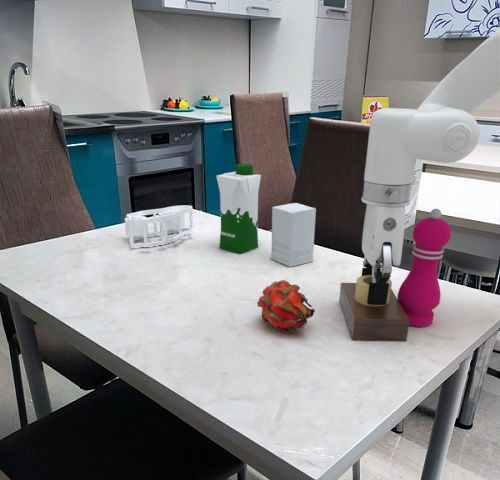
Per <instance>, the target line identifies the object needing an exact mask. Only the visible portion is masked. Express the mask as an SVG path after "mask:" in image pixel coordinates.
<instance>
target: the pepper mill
mask: <svg viewBox="0 0 500 480" xmlns="http://www.w3.org/2000/svg"><path fill="white" fill-rule="evenodd" d="M441 217H442V211H441V209H439V208H433V209H432V210H431V211H430V212H429V217H426V218H423V219H420V220H419V221H418V222H417V223H416V224H415V226H414V227H413V230H412V240H413V241H414V242H415V244H414V245H413V247H412V248H413V250H412V252H411V253H412V255H413V262H412V266H411V268H410V271H409V272H408V274H407V276H406V278H405V279H404V280H403V281H402V283H401V285H400V287H399V289H398V292H397V295H396V297H397V299H398V301H399V302H400V304H401V306H402V307H403V309H404V311H405V312H406V314H407V316H408V317H409V319H410V322H409V327H410V326H411V327H417V328H422V327H428V326H431V324H433V320H434V315H435V313H434V311H433V310H435V309H436V308H438V307H439V305H440V303H441V295H442V294H441V287H440V283H439V278H438V267H439V262H440V260H441V259H442V258H443V257H444V255H443V254H444V253H445V248H444V247H445V246H446V245H447V244H448V243H449V242H450V240H451V237H452V236H451V235H452V229H451V226H450V224H449V223H448V222H447V221H445V220H444V219H443V218H441Z"/></svg>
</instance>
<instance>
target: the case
mask: <svg viewBox="0 0 500 480" xmlns="http://www.w3.org/2000/svg"><path fill="white" fill-rule="evenodd" d="M339 289H340V291H339V299H338V301H339V305H340V308H341V311H342V314H343V317H344V320H345V323H346V326H347V330H348V332H349V335H350V338H351V341H381V342H382V341H383V342H385V341H386V342H407V340H408V338H407V337H408V334H409V333H408V332H409V328H410V325H409V322H410V319H409V317H408V316H407V314H406V312H405V311H404V309H403V307H402V306H401V304H400V302H399V301H398V298H397V295H396V294H395V292H394V290H393V289H392V288H391V293H390V300H389V303H388V304H386V305H384V306H367V305H363V304H360V303H358V302H357V301H356V300H355V291H356V282H340V287H339Z"/></svg>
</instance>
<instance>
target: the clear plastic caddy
mask: <svg viewBox="0 0 500 480" xmlns="http://www.w3.org/2000/svg"><path fill="white" fill-rule="evenodd" d="M186 213H188V214H189V227H186V223H185V222H186V221H185V214H186ZM148 215H149V216H150V215H152V217H147V216H148ZM157 215H158V216H157ZM158 223H159V231H158ZM124 224H125V225H124V226H125V235H126V236H128V237H129V238H128V242H129V243H128V244H130V249H134V248H137V249H139V248H138V247H150V248H154V247H153V246H156V247H160V246H159V245H162V246H165V245H164V244H166V245H169V244H172V243H171V242H174V243H176V242H177V241H179V240H181V239H183V237H185V236H184V235H186V236H189V235H188V234H191V233H193V234H194V220H193V205H185V204H183V205H172V206H167V207H161V208H154V209H153V208H152V209H146V210H139V211H136V212H131V213H127V214H126V217H125V218H124ZM148 224H153V232H150V233H149V228H148V226H149V225H148ZM175 232H179V233H175ZM170 233H173V234H170ZM168 234H169V235H168ZM163 235H164V236H163ZM191 235H192V234H191ZM153 236H159V240H157V241H151V242H148V238H147V237H152V238H154V237H153ZM182 236H183V237H182ZM142 238H144V239H142ZM180 238H181V239H180ZM138 239H141V240H143V242H138V243H135V242H136V241H135V240H138ZM178 239H179V240H178ZM176 240H177V241H176ZM133 241H134V242H133ZM138 241H139V240H138ZM175 241H176V242H175ZM168 243H169V244H168Z"/></svg>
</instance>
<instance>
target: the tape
mask: <svg viewBox="0 0 500 480" xmlns="http://www.w3.org/2000/svg"><path fill="white" fill-rule="evenodd" d="M369 282H372V275H365V276H362V275H361V276H358V277H357V278H356V282H355V283H356V291H355V300H356V301H357V302H358V303H360V304H363V305H367V306H384V305H369V304H368V303H367V298H368V290H369ZM392 284H393V282H392V280H391V279H390V283H389V289H388V296H387V303H386V304H388V303H389V300H390V293H391V289H392ZM386 304H385V305H386Z"/></svg>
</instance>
